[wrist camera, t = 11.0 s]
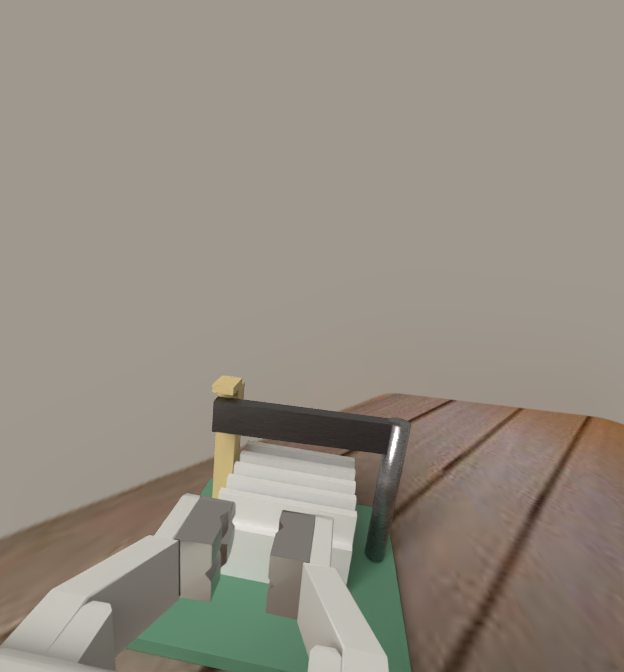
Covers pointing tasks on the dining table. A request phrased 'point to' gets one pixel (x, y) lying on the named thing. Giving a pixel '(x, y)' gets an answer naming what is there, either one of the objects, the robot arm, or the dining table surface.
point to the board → (273, 634)
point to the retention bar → (328, 432)
